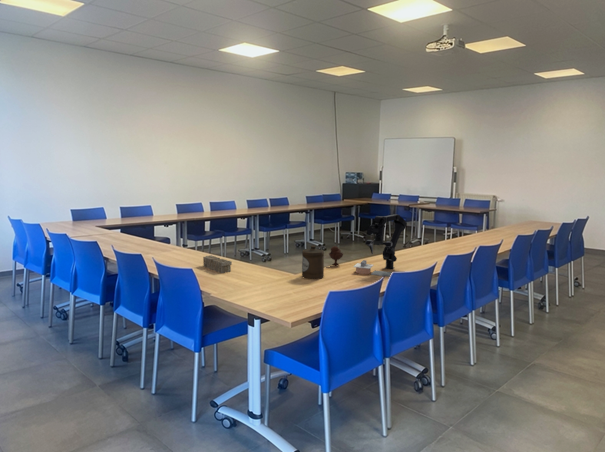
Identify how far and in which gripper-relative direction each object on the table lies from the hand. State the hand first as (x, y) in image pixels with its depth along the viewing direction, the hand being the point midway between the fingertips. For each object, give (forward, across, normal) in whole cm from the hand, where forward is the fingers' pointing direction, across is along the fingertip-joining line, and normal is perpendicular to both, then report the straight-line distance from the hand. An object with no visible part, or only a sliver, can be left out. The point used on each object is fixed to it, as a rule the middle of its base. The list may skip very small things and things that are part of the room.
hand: (378, 254), depth 313 cm
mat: (+12, +5, -8) cm, 15 cm away
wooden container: (+12, -36, -38) cm, 54 cm away
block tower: (+13, -107, -48) cm, 118 cm away
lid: (+7, -8, -11) cm, 15 cm away
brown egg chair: (+12, -34, +4) cm, 36 cm away
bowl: (+12, -8, -11) cm, 18 cm away
